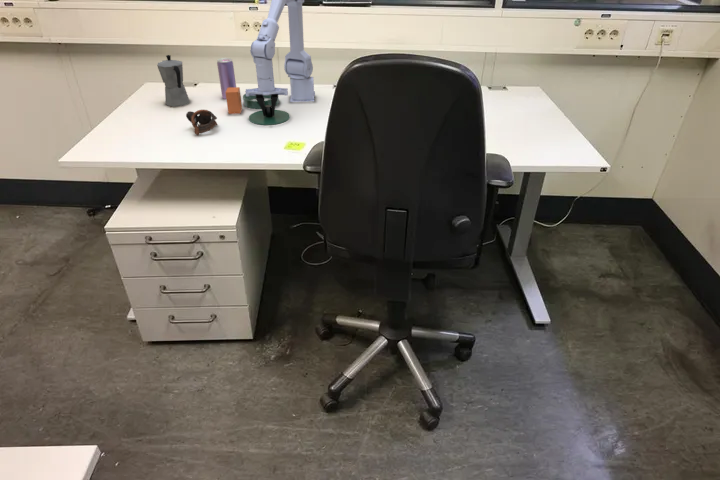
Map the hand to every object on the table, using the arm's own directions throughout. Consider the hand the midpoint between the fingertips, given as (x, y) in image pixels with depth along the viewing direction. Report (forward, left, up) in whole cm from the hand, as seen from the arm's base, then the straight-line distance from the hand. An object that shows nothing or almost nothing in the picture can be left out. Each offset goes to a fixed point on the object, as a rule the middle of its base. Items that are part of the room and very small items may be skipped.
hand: (269, 115), depth 180 cm
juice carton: (+13, -8, -2) cm, 15 cm away
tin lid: (0, 0, -1) cm, 1 cm away
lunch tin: (+4, -16, -2) cm, 17 cm away
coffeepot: (+36, -19, -2) cm, 41 cm away
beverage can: (+17, -24, -2) cm, 29 cm away
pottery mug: (+22, +9, -2) cm, 24 cm away
